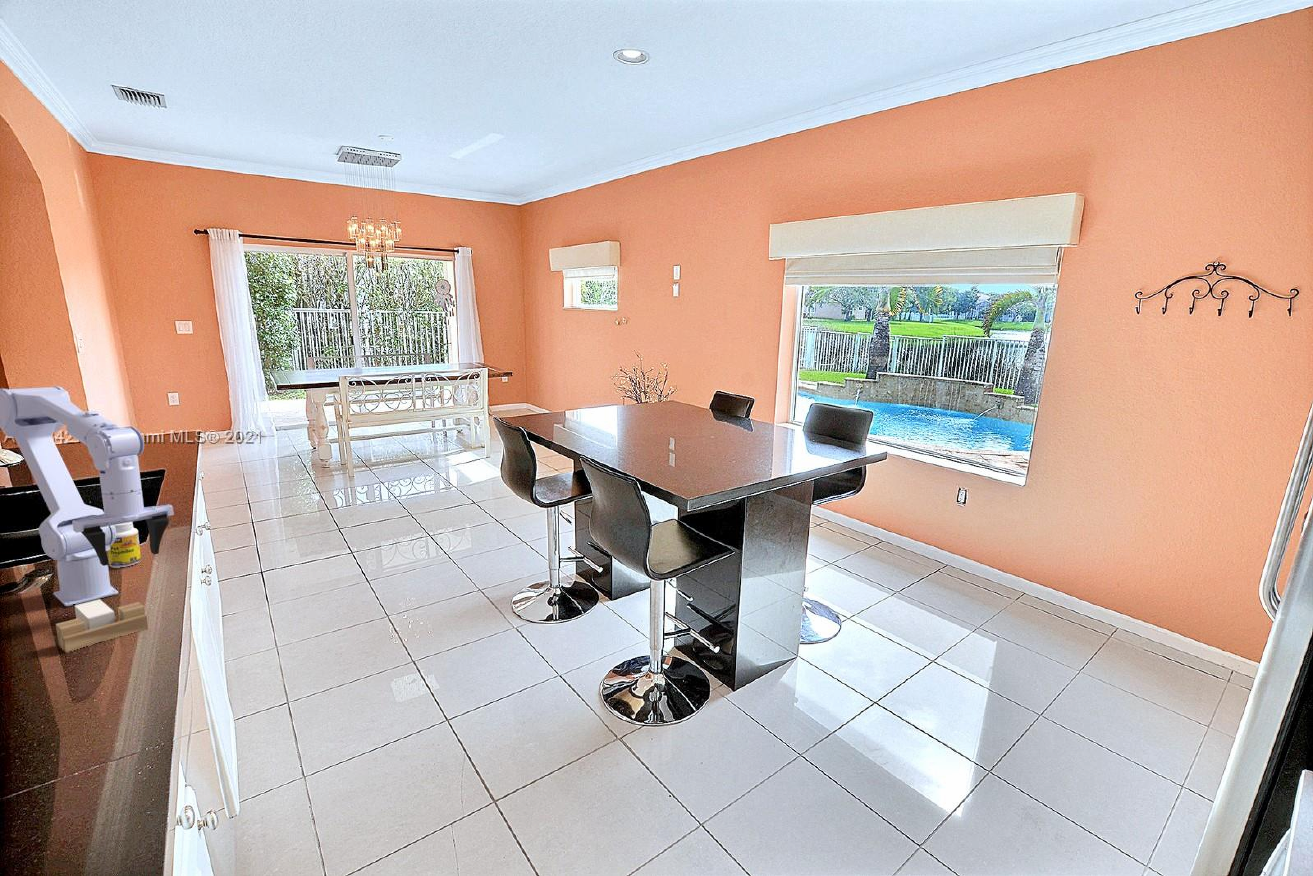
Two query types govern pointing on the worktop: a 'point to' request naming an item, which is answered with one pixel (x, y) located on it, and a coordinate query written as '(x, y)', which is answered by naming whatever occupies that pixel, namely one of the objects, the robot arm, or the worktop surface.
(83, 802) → the worktop surface
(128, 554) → the supplement bottle
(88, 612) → the white block
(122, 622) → the tan bridge
